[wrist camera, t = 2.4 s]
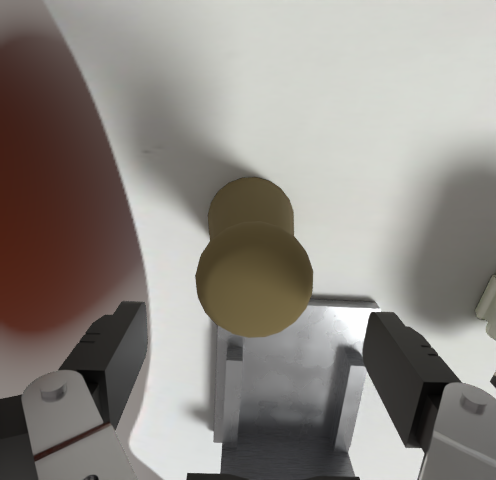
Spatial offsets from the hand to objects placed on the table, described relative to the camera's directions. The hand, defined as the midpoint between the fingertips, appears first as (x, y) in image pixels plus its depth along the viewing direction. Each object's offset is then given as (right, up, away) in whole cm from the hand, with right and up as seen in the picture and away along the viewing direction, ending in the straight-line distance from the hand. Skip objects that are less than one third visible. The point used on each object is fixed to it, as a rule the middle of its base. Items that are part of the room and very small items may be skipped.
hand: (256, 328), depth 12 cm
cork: (0, +5, +12) cm, 13 cm away
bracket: (+3, -8, +16) cm, 18 cm away
